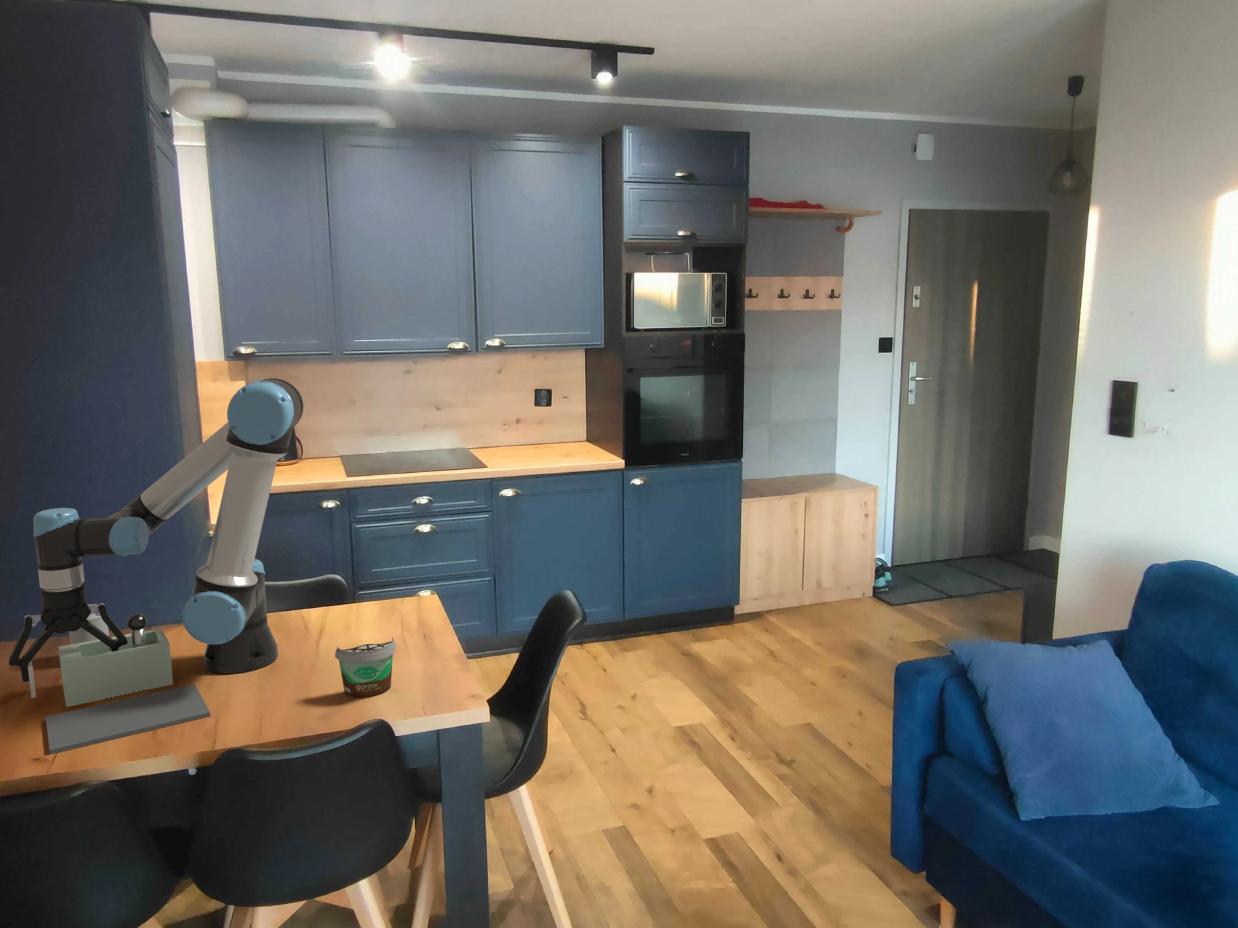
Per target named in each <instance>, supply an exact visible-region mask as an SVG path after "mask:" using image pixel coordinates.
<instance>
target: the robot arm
mask: <svg viewBox="0 0 1238 928" xmlns="http://www.w3.org/2000/svg"><path fill="white" fill-rule="evenodd" d="M303 413H304V400H303V397H302V394H301V393H300V392H299V390H298V389H297V387H295V386H294V385H293V384H292V383H290V382H288V381H287V380H284V379H281V378H265V379H262V380H258V381H257V380H256V381H253V382H248V383H247V384H245V385H244V386H242V387H241V388H240V389H238V390H237V391H236V392H235V394H233V396H232V398H231V399H230V400H229V403H228V405H227V413H226V416H227V422H226V423H225V424H223V426H221V427H220V428H219V429H218V430H217V431H215V432H214V433H213V434H212V435H210V436H209V437H208V438H207V439H205V440H204V441H203V442H202V443H201V444H200V445H198V446H197V447H196V448H195V449H194V450H193V451H190V453H189V454H187V455H186V456H185V457H184V458H182V459H181V461H179V462H178V463H176V465H174V466H173V467H172V468H170V469H169V470H168V471H167V472H165V474H163V475H162V476H161V477H160V478H158V479H157V480H156V481H155V482H154V483H153V484H151V485H150V486H149V487H148V488H147V489H145V490H144V491H143V492H141V494H139V495H138V496H137V497H135V498H134V499H133V500H132V501H130V502H129V503H128V504H127V505H126V506H125V507H123V508H121V509H120V510H119V511H117V512H115V513H113V514H111V515H109V516H108V517H102V518H100V517H99V518H80V516H79V513H78V511H77V510H76V509H75V508H73V507H72V508H71V507H70V508H69V507H59V508H56V507H55V508H49V509H44V510H41V511H38V512H37V513H35V514H34V515H33V519H32V520H33V523H32V524H33V538H34V539H33V540H34V544H35V546H34V547H35V554H36V559H37V560H36V561H37V572H38V581H39V588H40V589H42V590H41V591H40V600H41V608H42V612H41V614H35V615H33V614H30V613H26V614H25V615H24V618H23V619H24V621H23V627H22V630H21V632H20V634H19V636H18V638H17V640H16V642H15V645H14V646H13V649H12V651H11V653H10V655H9V658H8V665H9V666H11V667H14V666H16V667H19V668H20V673H21V680H22V682H23V683H26V682H29V689H30V694H31V695H30V696H31V699H34V698H37V694H36V693H37V692H36V684H35V676H34V666H33V662H32V660H33V659H34V657H36V655H37V654H38V652H39V651H40V650H41V648H42V647H43V646H44V645H45V644H46V642H47V641H48V640H49V639H50V638H51V637H52V636H53V634H54V633H55V634H56V633H57V634H59V635H61V634H65V633H67V632H68V633H69V631H71V632H73V631H77V630H78V629H80V628H83V629H84V630H85V631H87V632H89V633H90V634H92V635H93V636H94V637H96V638H97V639H99V640H100V641H101V642H103V643H104V644H106V645H107V646H108V648H107V653H109V652H114V651H118V649H119V647H121V646H122V645H126V644H127V643H128V641H127V638H126V637H125V635H126V634H124V633H123V631H122V630H121V629H120V628H119V626H118V625H117V624H116V622H115V621H114V620H113V619H112V617H111V616H110V615H109V613H108V612H107V608H106V605H105V603H104V602H102V601H101V602H99V603H98V602H97V604H98V605H95V606H91V607H89V606H88V605H89V604H88V601H87V592H86V585H85V584H84V582H85V572H84V563H83V558H85V557H86V558H87V557H88V558H89V557H113V556H114V557H115V556H121V557H127V556H130V555H131V556H132V555H140V554H142V553H144V552H145V551H146V549H147V546H148V544H149V537H150V536H151V535H152V534H154V533H155V532H156V531H157V529H158V528H159V527H160V526H162V525H163V524H165V523H166V521H168V519H170V518H171V517H172V516H173V515H175V514H176V513H177V512H178V511H180V510H181V509H182V508H183V507H184V506H185V505H187V504H188V503H190V501H191V500H193V499H194V498H196V497H197V496H198V495H199V494H201V492H203V491H204V490H205V489H206V488H207V487H209V486H210V485H211V484H212V483H213V482H215V481H216V480H217V479H218V478H219V477H221V476H222V475H223V474H225V473H226V472H227V473H226V477H225V482H224V486H223V491H222V496H221V500H220V504H219V509H218V512H217V513H218V514H217V518H216V522H215V527H214V531H213V535H212V541H211V543H210V548H209V554H208V556H207V557H208V558H207V562H206V564H204V565H202V566H200V567H199V568H198V569H197V570H196V574H195V579H194V583H193V588H192V592H191V596H190V598H188V600H187V601H186V602H185V605H183V609H182V612H181V613H182V615H181V619H182V620H181V621H182V625H183V627H184V629H185V631H186V632H187V633H188V634H189V635H190V636H191V637H192V638H193V639H194V640H196V641H198V642H200V643H203V644H206V648H205V651H204V655H203V661H204V668H206V670H208V671H210V672H214V673H217V674H237V673H239V674H240V673H244V672H250V671H255V670H258V669H262V668H264V667H267V666H269V665H270V664H272V663H273V662H275V661H276V660H277V659H278V657H279V652H278V651H279V650H278V649H279V647H278V644H277V642H276V639H275V637H274V635H273V633H272V630H271V628H270V626H269V624H268V610H267V596H266V583H265V582H266V580H265V574H266V571H265V568H264V564H263V562H262V561H261V560H260V559H257V558H256V554H257V550H258V545H259V541H260V537H261V533H262V528H263V523H264V520H265V514H266V512H267V507H268V501H269V497H270V493H271V488H272V484H273V480H274V475H275V471H276V466H277V463H278V461H279V460H280V459H281V458H283V457H284V456H286V455H288V450H289V446H290V441H291V437H292V435H293V433H292V432H293V430H294V429H293V428H294V427H296V426H297V425H298V423H300V421H301V418H302V416H303ZM91 612H93V613H95V615H97V616H101V618H102V620H103V621H104V622H105V624H106V625H107V626H108V630H110V631H111V633H112V634H113V635H114V637H115V636H116V638H117V640H113V639H112V638H111V636H110V635H109V636H108V635H106V634H105V633H104V632H102V631H101V630H100V629H98V628H97V627H95V626H94V625H93V624H91V623H90V622H89V621H88V620H87V618H88V616H89V615H90V613H91ZM39 622H42V623H43V624H44V625H45V627H44V628H43V629H42V632H41V633H40V634H39V635H38V637H37V638H36V639H35V640H34V642H32V644H31V645H30V647H29V648H28V649H27V650H26V652H25V653H24V654H23V656H22V657H20V656H21V654H22V652H23V649H24V647H25V645H26V643H27V641H28V639H29V636H30V635H31V632H32V628H34V627H36V626H37V624H38V623H39Z"/></svg>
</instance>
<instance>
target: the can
mask: <svg viewBox="0 0 1238 928" xmlns="http://www.w3.org/2000/svg"><path fill="white" fill-rule="evenodd" d="M87 605H88V606H89V607H91V606H95V605H98V603H97V604H95V603H94V604H87ZM87 620H88V621H89V622H90V623H91V624H93V625H94V626H95V627H97V628H98V629H100V630H101V631H102V632H104V633H105V634H106V635H108V636H109V637H110V632H109V630H110V629H109V627H108V626H107V625H106V624H105V622H104V621H103V620H102V618H101V616H97V615H95V613H93V612H91V613H90V615H89V616H88V618H87ZM68 636H69V645H71V644H77V643H82V642H88V641H93V640H99V639H97V638H96V637H94V636H93V635H92V634H90V633H89V632H87V631H85V630H84V629H83V628H80V629H78V630H77V631H73V632H71V631H68Z"/></svg>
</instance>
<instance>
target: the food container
mask: <svg viewBox="0 0 1238 928" xmlns="http://www.w3.org/2000/svg"><path fill="white" fill-rule="evenodd" d="M396 651H397V645H396V641H395V639H394V637H393V636H392V639H391V641H387V642H382V643H368V644H367V643H366V644H361V645H358V646H355V647H352V648H347V649H342V648H340V647H339V646H337V647H336V649H335V653H334V658H336V659H337V660H338V663H339V669H340V674H341V680H342V686H343V691H344V694H345V695H347V696H349V697H352V698H356V699H357V698H360V699H365V698H366V699H367V698H372V697H377V696H380V695H383V694H385V693H386V692H388V691H389V690H390V689H391V687H392V673H393V661H394V660H393V658H394V654H395V652H396Z"/></svg>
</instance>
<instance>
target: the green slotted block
mask: <svg viewBox="0 0 1238 928" xmlns="http://www.w3.org/2000/svg"><path fill="white" fill-rule="evenodd" d="M124 635H125V637H126V638H127V641H128V643H127V644H126V645H122V646H121V647H119V649H118V651H114V652H109V653H107V648H108V646H107V645H106V644H104V643H103V642H101V641H100V640H93V641H88V642H82V643H77V644H71V645H70V644H67V645H61V646H58V647H57V648H58V656H59V665H60V673H61V682H62V688H63V696H64V702H65V707H66V708H69V707H74V706H78V705H83V704H87V703H88V704H89V703H92V702H98V701H101V700H106V698H107V699H112V698H115V696H116V697H121V696H125V694H126V695H129V693H130V694H134V693H133V692H135V693H139V691H140V692H144V691H148V689H149V690H153V689H157V688H162V687H168V686H172V685H174V680H173V679H174V678H173V668H172V667H173V666H172V657H171V647H170V646H171V645H170V642H169V640H168V637H167V636H166V634H165V632H164V630H163V628H162V627H160V628H155V629H149V630H145V641H146V646H140V647H135V648H133V643H132V633H128V634H124ZM110 637H111V636H110ZM111 638H112V639H113V640H117V638H116V636H115V635H114V636H112V637H111ZM143 690H144V691H143ZM120 695H121V696H120ZM111 697H112V698H111Z"/></svg>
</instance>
